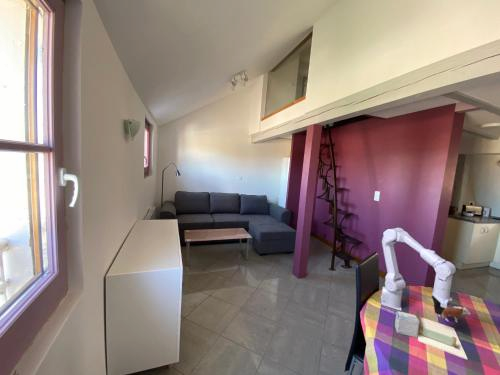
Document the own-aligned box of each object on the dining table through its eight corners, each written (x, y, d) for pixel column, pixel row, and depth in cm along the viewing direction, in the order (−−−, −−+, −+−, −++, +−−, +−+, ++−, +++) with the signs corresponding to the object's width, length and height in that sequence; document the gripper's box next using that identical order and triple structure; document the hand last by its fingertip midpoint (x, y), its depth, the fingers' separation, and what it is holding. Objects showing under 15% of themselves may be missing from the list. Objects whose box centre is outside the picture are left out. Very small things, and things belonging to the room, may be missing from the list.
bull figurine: (470, 325, 106) (473, 310, 105) (439, 320, 109) (442, 306, 108) (463, 319, 111) (466, 305, 110) (434, 314, 113) (436, 300, 112)
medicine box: (413, 331, 101) (415, 314, 100) (417, 338, 97) (419, 321, 96) (394, 326, 103) (396, 310, 102) (397, 333, 99) (399, 316, 98)
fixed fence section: (417, 331, 100) (418, 324, 100) (414, 317, 110) (415, 309, 110) (421, 333, 99) (422, 325, 99) (417, 318, 109) (418, 311, 109)
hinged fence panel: (417, 333, 98) (418, 326, 98) (417, 331, 100) (418, 324, 99) (455, 347, 92) (457, 340, 91) (454, 345, 93) (455, 337, 93)
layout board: (418, 341, 95) (418, 340, 95) (412, 315, 112) (413, 314, 112) (467, 359, 87) (467, 358, 87) (453, 329, 104) (453, 327, 103)
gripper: (458, 298, 92) (453, 326, 93) (449, 282, 104) (445, 308, 105) (436, 292, 95) (432, 319, 97) (430, 278, 108) (427, 302, 109)
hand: (437, 313), depth 101 cm, fingers closed
